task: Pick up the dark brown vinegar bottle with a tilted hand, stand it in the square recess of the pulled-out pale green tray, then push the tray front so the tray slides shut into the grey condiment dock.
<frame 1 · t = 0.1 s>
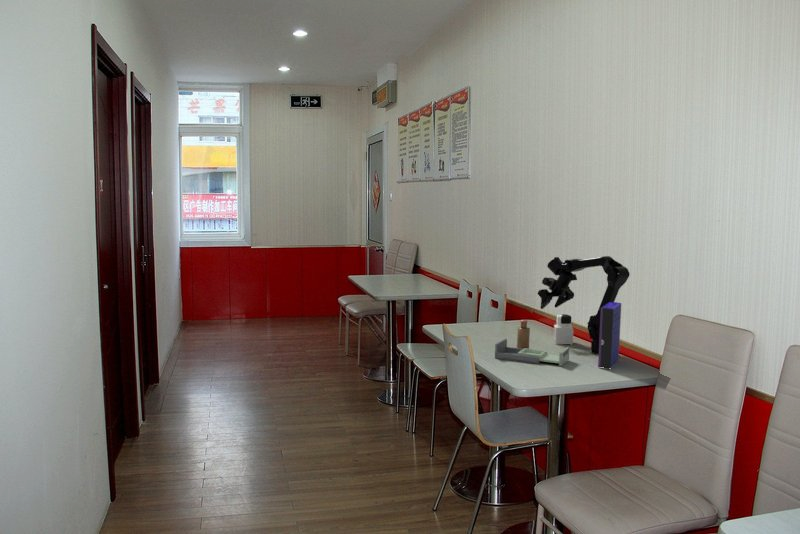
hand: (548, 307, 319), 15 cm above the table, tool tilted 35°, fingers open, 9 cm apart
tray: (543, 353, 279), point 3 cm above the table, slide at 8.0 cm
cereal box: (608, 364, 276), on the table
container: (563, 343, 313), on the table
dock: (528, 358, 282), on the table
vinegar bottle: (522, 350, 296), on the table
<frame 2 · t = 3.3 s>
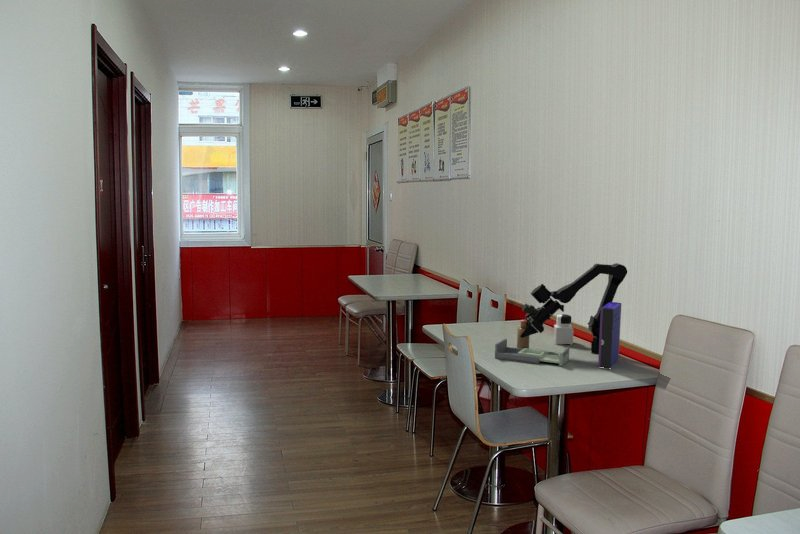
hand: (520, 335, 296), 7 cm above the table, tool tilted 45°, fingers closed on vinegar bottle, 5 cm apart
vinegar bottle: (522, 350, 296), on the table, touching gripper
everything else where it was.
when the fingers open (10 cm above the table, at t = 7.8 s): vinegar bottle drops 1 cm, resting on tray.
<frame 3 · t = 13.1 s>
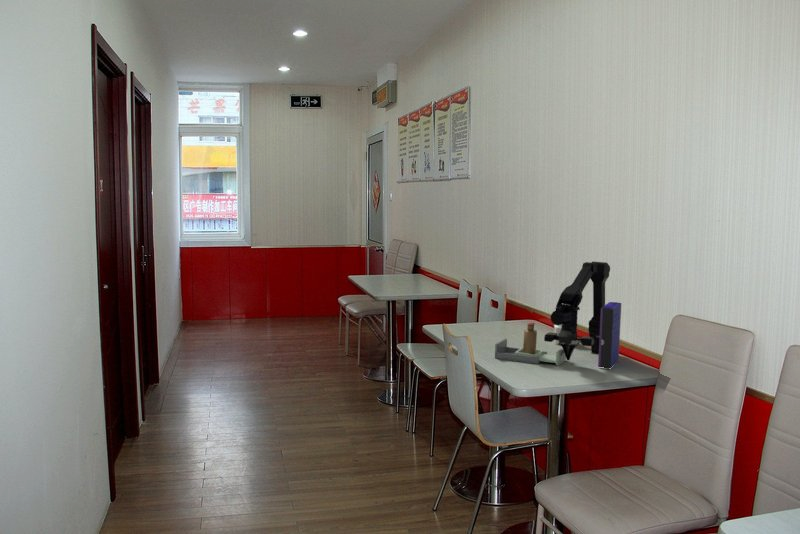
hand: (568, 360, 274), 2 cm above the table, tool pointing down, fingers closed
tray: (540, 353, 279), point 3 cm above the table, slide at 6.7 cm, touching gripper, vinegar bottle
vinegar bottle: (529, 354, 282), point 2 cm above the table, touching tray
everything else where it was.
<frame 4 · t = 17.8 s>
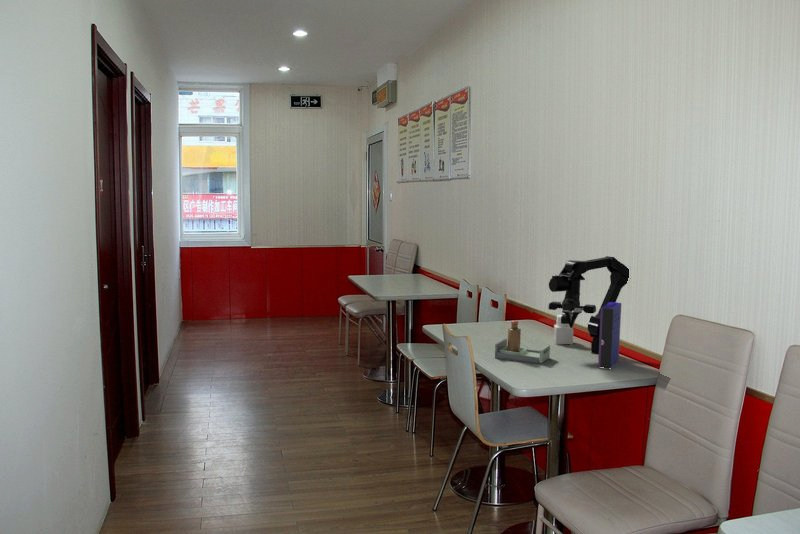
hand: (571, 327, 287), 12 cm above the table, tool pointing down, fingers closed
tray: (524, 351, 282), point 3 cm above the table, slide at 0.0 cm, touching vinegar bottle
vinegar bottle: (513, 352, 285), point 2 cm above the table, touching tray
everything else where it was.
at the end: tray slide at 0.0 cm; vinegar bottle inside the target area on the dock (3.2 cm from its centre), point 1.9 cm above the dock's base; vinegar bottle tilted 1° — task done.
